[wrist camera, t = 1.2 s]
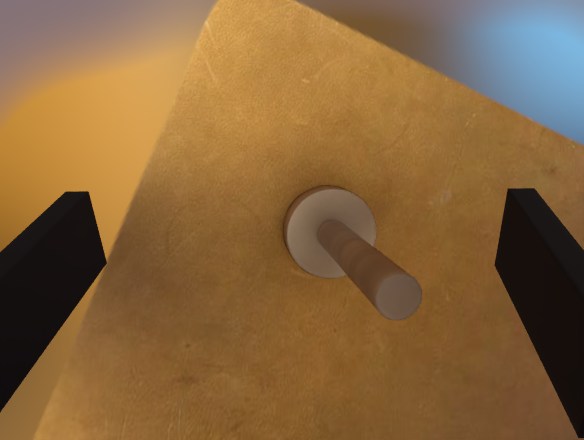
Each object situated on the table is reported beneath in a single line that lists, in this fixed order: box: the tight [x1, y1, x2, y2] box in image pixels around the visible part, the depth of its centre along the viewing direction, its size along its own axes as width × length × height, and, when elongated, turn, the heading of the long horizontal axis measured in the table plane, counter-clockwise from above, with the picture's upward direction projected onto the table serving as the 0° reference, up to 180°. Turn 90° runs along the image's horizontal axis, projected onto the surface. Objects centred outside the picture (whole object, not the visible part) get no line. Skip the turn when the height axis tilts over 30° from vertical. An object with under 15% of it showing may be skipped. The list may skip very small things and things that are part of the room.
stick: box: [283, 186, 422, 320], centre depth 28 cm, size 6×6×15 cm
